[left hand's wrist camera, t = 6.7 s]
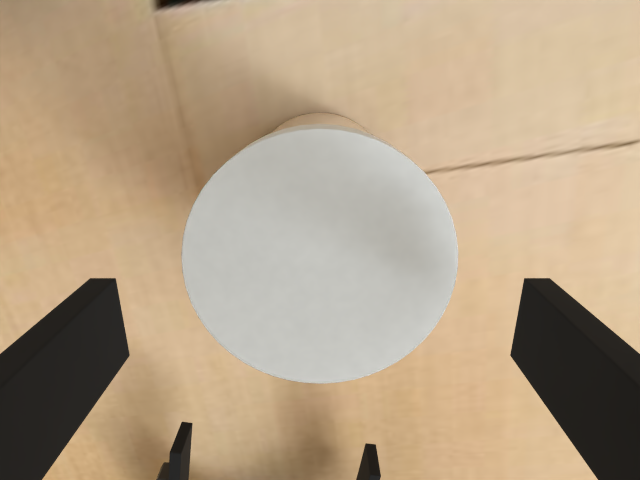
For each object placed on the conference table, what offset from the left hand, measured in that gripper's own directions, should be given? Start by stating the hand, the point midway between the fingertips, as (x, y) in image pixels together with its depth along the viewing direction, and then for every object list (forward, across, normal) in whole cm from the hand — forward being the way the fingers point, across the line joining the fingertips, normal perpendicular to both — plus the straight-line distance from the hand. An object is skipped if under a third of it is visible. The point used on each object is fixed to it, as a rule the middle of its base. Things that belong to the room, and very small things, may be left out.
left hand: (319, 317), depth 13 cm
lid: (+4, 0, 0) cm, 4 cm away
